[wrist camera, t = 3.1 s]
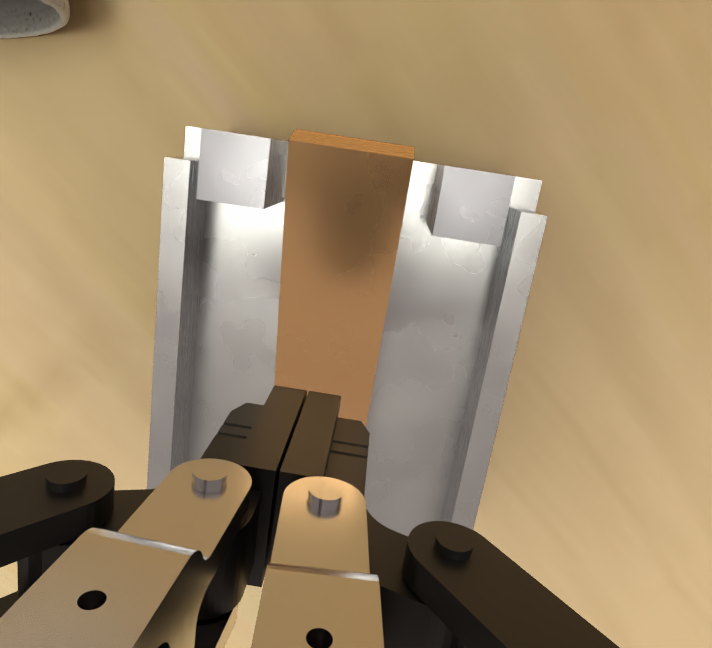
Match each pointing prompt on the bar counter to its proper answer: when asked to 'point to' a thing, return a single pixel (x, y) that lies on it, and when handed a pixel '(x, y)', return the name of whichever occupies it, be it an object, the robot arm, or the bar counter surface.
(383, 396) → the block
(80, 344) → the bar counter surface
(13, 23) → the ceramic mug
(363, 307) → the strap
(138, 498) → the robot arm
